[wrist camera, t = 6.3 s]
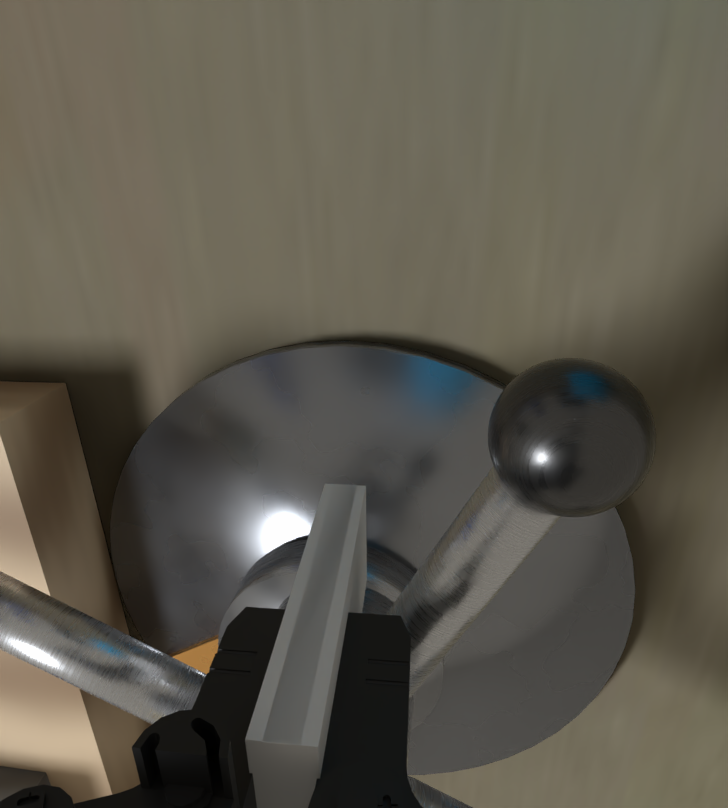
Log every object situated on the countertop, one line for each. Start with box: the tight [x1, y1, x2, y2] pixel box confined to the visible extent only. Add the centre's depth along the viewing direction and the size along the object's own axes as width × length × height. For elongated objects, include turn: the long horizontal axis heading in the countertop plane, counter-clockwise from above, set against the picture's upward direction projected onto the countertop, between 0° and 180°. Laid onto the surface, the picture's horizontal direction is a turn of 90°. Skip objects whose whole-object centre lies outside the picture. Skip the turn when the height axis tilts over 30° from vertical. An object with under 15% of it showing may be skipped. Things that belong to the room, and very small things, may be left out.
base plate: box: [110, 340, 635, 775], centre depth 20 cm, size 17×17×1 cm
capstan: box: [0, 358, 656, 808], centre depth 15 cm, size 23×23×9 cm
